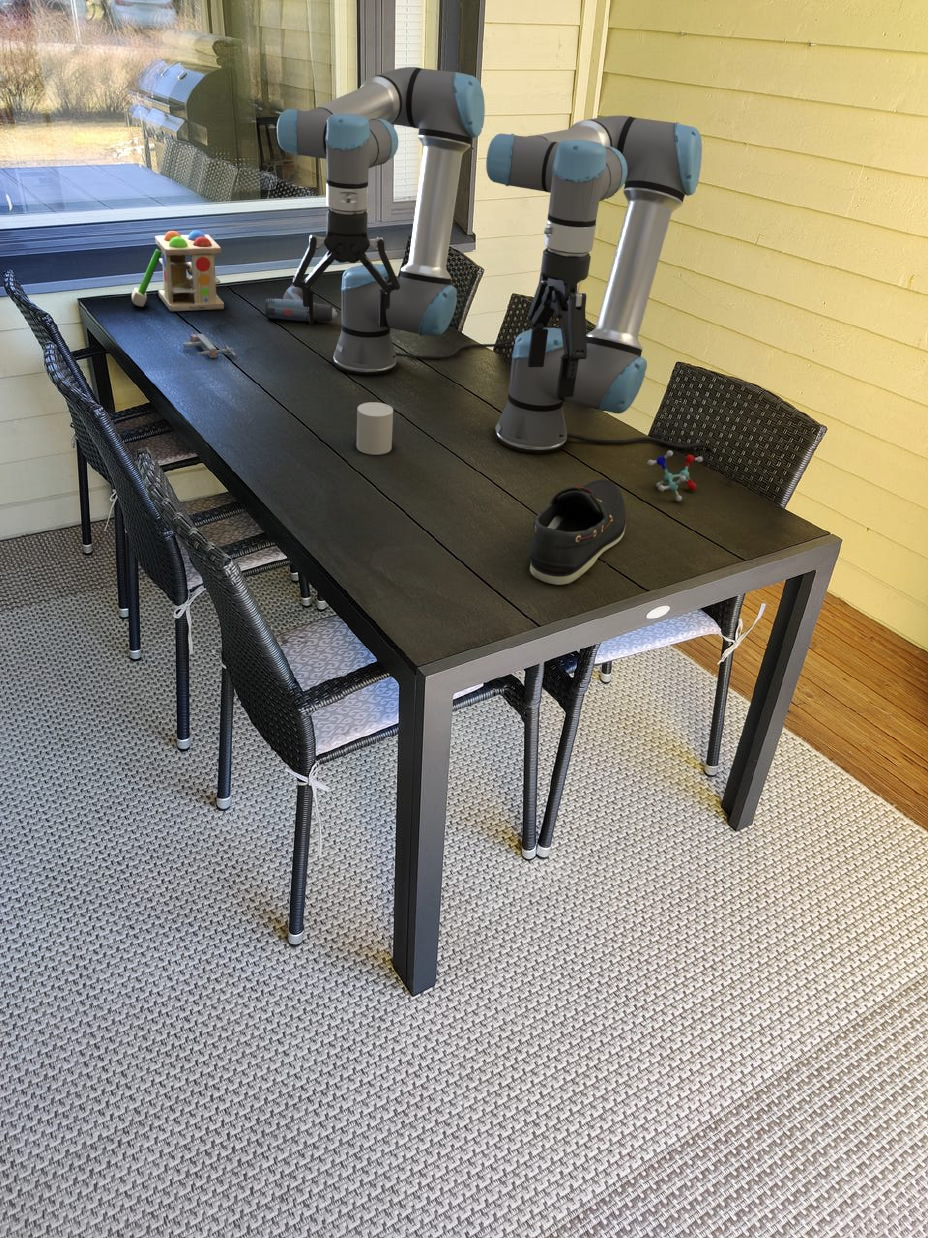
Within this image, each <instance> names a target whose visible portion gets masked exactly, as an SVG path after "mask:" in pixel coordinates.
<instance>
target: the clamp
mask: <svg viewBox="0 0 928 1238" xmlns="http://www.w3.org/2000/svg"><path fill="white" fill-rule="evenodd" d="M189 339H190V340H189V341H183V342H182V346H183V348H184V349H190V348H191V349H192V348H194V347H200V348H201V350H203V351H201V352H196V356H208V357H209V358H211V359H212V358H213V359H214V358H217V357H218V355H217V354H231V355H233V358H234V359H238V357H239V355H238V353H235V351H234V348H233V347H229V345H228V344H226V345H224V349H217V347H216V346H215V345H214V344H213V343H212V342H211V341H210V340H209V339H208V338H207V337H206V336H205V335H204V333H197V334H195V333H193V334H190V335H189Z"/></svg>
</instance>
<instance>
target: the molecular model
mask: <svg viewBox="0 0 928 1238" xmlns="http://www.w3.org/2000/svg"><path fill="white" fill-rule="evenodd" d="M673 455H674V452H673V450H667V451H666V454H664V456H658V457H657V458H656V459H655V460H652V459H648V460H647V462H646V464H647V466H649V467H652V466H654V465H656V464H657V465H658V466H661V468H662V470H663V472H664V475H663V479H662V480H661V481H658V482H657V483H656V485H655V486H656V488H657V490H658V491H659V492H662V493H663V492H664V491H665V490H669V491H671V492H673V493H674V495H675V502H678V503H680V502H681V501H682V500H683V497H682V496H681V495H680V494H679V492H678V489H679V485H680V484H681V483H684V482H685V483H686V484H687V487H688V490H689V491H695V490H696V489H697V484H696V483H695V482H693V481H692V479H691V477H690V472H689V471H688V470H689V467H690V464H692V463H693V462H697V463H702V462H703V461H704V458H703V457H702V456H697V457H694V456H693V455H691V454H688V455H686V456H685V462H686V464H685V466H684V469H683V470H681V471H680V472H679V473H678V474H673V473H671V472H669V471H668V469H667V467H666V460H667V459H668V458H670V457H673ZM677 478H678V480H677V481H673V480H674V479H677ZM665 483H668V485H665V486H664V484H665Z"/></svg>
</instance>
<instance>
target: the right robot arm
mask: <svg viewBox="0 0 928 1238" xmlns="http://www.w3.org/2000/svg"><path fill="white" fill-rule="evenodd" d="M702 154H703V141H702V136H701V133H700V131H699V130H698V128H696V127H695V126H690V125H686V124H682V123H680V122H677V121H676V122H671V121H664V120H656V119H648V118H642V117H635V116H631V115H622V114H621V115H609V116H601V117H594V118H589V119H582V120H579V121H577V122H575V123H574V124H572V125H571V126H570V127H569V128H567V129H563V130H556V131H552V132H551V131H550V132H545V133H539V134H534V135H526V136H525V135H517V134H516V135H515V133H510V134H509V133H498V134H496V135H494V137H492V139H491V141H490V143H489V145H488V149H487V154H486V162H485V170H486V174H487V177H488V178H489V180H490V181H491V182H493V183H496V184H499V185H504V186H505V187H515V188H520V189H526V190H527V189H528V190H533V191H538V192H545V193H549V195H550V196H549V202H548V213H547V220H546V227H544V228H543V234H544V236H545V237H544V246H545V247H546V248H545V249H543V251H542V259H541V266H540V274H539V280H538V284H537V287H536V290H535V293H534V295H533V299H532V301H531V305H530V307H529V310H528V313H527V320H528V321H530V327H531V329H528V330H525V331H523V332H520V333H519V334H518V335H517V337H516V338H515V340H514V341H515V344H513V345H514V346H513V351H512V354H511V367H510V368H511V369H510V374H509V375H510V376H509V385H508V396H507V400H506V401H507V402H506V404H505V405H504V409H503V410H502V413H501V415H500V417H499V419H498V421H497V422H496V425H495V428H494V429H495V433H494V437H495V440H496V441H497V442H498V443H499V444H501V446H504V447H506V448H508V449H510V450H512V451H516V452H520V453H526V454H533V455H544V454H552V453H556V452H559V451H560V450H562V449H564V448H565V447H566V445H567V440H568V438H570V439H574V440H579V441H582V442H583V441H584V442H587V443H593V444H602V445H626V444H632V443H639V442H650V443H656V444H659V445H663V446H666V447H669V448H674V449H678V450H690V449H691V450H692V449H695V448H703V447H702V446H703V444H702V443H703V442H696V443H690V444H677V443H673V442H670V441H666V440H663V439H660V438H655V437H649V436H648V437H646V436H641V437H634V438H633V437H632V438H627V439H602V438H592V437H587V436H583V435H580V434H574V433H570V432H568V431H567V424H566V419H565V413H564V402H566V403H570V404H574V405H578V406H581V407H586V408H589V409H594V410H597V411H599V412H601V413H602V412H607V413H612V414H617V415H618V414H623V413H625V412H627V410H629V409H630V408H631V406H632V405H633V403H634V402H635V399H636V398H637V396H638V394H639V392H640V389H641V387H642V386H643V383H644V379H645V376H646V371H647V367H648V362H647V360H646V358H644V357H643V356H642V353H643V346H642V344H641V343H640V341H639V335H640V331H641V328H642V323H643V320H644V316H645V313H646V309H647V306H648V302H649V299H650V296H651V295H650V294H651V291H652V288H653V287H652V286H653V283H654V280H655V276H656V272H657V268H658V265H659V261H660V259H661V258H660V257H661V254H662V251H663V245H664V243H665V239H666V236H667V232H668V229H669V225H670V221H671V218H672V214H673V213H674V212H675V211H677V210H678V209H679V208H681V207H682V206H683V204H684V199H685V196H686V197H689V196H693V195H694V194H695V193H696V190H697V187H698V185H699V181H700V174H701V170H702V169H701V168H702V158H703V155H702ZM622 188H623V191H622V194H623V195H624V197H625V199H626V201H627V206H626V210H625V214H624V219H623V222H622V226H621V229H620V232H619V237H618V240H617V245H616V248H615V253H614V256H613V261H612V264H611V267H610V271H609V274H608V278H607V282H606V286H605V290H604V294H603V298H602V302H601V305H600V309H599V313H598V317H597V321H596V325H595V327H594V329H593V330H592V331H591V330H590V331H589V332H588V333H587V319H586V307H587V294H586V293H585V292H583V293H582V292H581V293H580V292H579V290H578V289H579V288H578V287H579V286H578V284H580V283H581V282H582V281H585V280H586V279H587V278H588V276H589V272H590V264H591V260H592V259H591V258H592V256H591V255H590V252H592V251H593V247H594V240H595V234H596V228H597V218H598V211H599V207H600V202H602V201H605V200H608V199H611V198H612V197H614V196H615V194H617V193H618V192H619V191H620V190H621V189H622ZM554 314H555V317H556V318H557V319H558V320H559V324H560V328H559V327H558V328H557V327H551V326H550V325H551V324H550V321H551V319H552V317H553V316H554ZM704 449H707V450H708V451H709V452H714V451H715V450H714V448H713V447H712V446H711V447H704Z"/></svg>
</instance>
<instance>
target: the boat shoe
mask: <svg viewBox="0 0 928 1238" xmlns="http://www.w3.org/2000/svg"><path fill="white" fill-rule="evenodd" d="M623 497H624V496H623V494H622V493H621V490H620V489H619V487H618V486H617V484H616V483H614V482H613V481H611V480H609V479H595V480H593V481H589V482H587V483H586V484H584V485H583V486H568V487H566V488H563V489H562V490H560V491H559V492H556V494H555V495H554V496H553V497H552V498H551V500H550V502H549V504H548V506H546V507H544V508H543V510H541V511H540V513H538V514H537V515H536V517H535V519H534V520H533V522H532V529H533V538H532V541H531V546H530V547H531V548H530V551H529V558H530V559H531V560H530V566H529V572H530V574H531V575H532V576H533V577H534V578H535V579H538V580H540V581H542V582H544V583H547V584H550V585H557V586H558V585H559V586H561V585H568V584H571V583H572V582H574V581H576V580H577V579H579V578H580V577H581V576H582V575H584V573H586V572H587V571H588V570H589V569H590V568H591V567H593V565H594V564H595V563H596V561H597V560H598V558H599V557H601V555H602V554H603V553H604V552H606V551H607V550H609V549H610V548H612V547H614V546H615V545H617V544H618V543H619V542H620V541H621V540H622V539H623V537H624V535H625V532H626V526H627V525H626V524H627V516H626V505H625V502H624V498H623Z"/></svg>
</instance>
